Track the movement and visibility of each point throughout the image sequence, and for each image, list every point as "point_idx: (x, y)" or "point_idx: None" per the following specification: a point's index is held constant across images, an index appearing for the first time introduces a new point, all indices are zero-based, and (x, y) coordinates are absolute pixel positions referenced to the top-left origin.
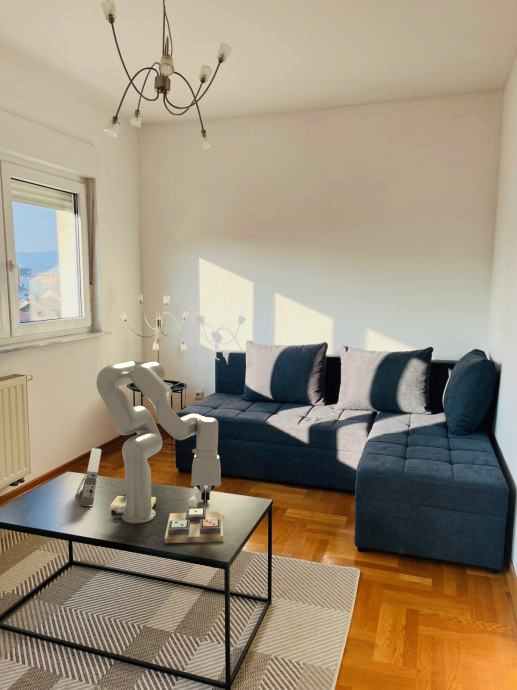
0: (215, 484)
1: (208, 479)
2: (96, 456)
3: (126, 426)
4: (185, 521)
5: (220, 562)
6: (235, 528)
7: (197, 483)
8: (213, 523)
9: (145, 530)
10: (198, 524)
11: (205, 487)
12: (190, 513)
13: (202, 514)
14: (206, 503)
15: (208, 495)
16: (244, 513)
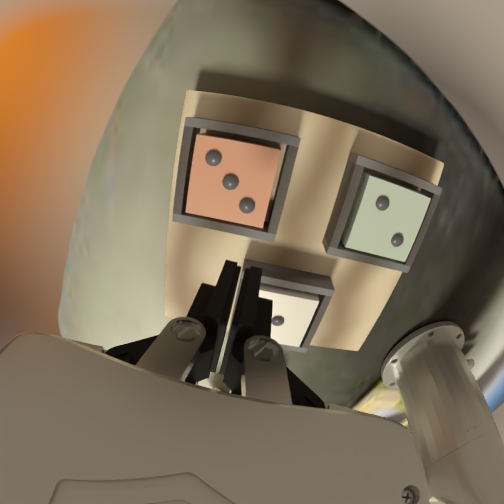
0: (54, 341)
1: (127, 467)
2: None
3: None
4: (356, 235)
5: None
6: (129, 200)
7: (355, 431)
8: (214, 165)
9: (448, 277)
10: (282, 238)
11: None
12: (307, 309)
13: None
14: (216, 387)
15: (202, 308)
16: (102, 301)
